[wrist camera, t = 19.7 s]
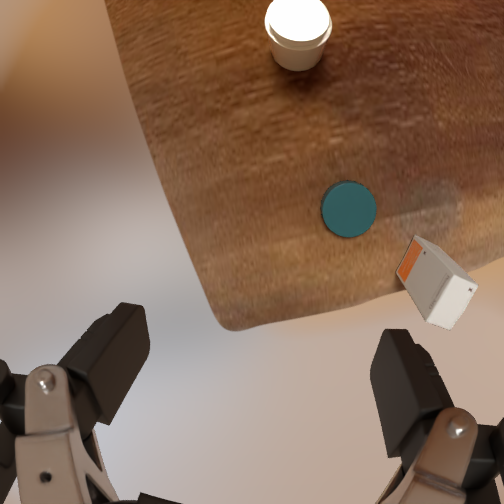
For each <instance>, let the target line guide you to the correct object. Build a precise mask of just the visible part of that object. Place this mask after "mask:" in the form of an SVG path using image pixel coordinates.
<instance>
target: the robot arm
mask: <svg viewBox="0 0 504 504" xmlns="http://www.w3.org/2000/svg"><path fill="white" fill-rule="evenodd" d="M149 351H150V339H149V333H148V327H147V322H146V315H145V310H144V308H143V306H141V305H136V304H130V303H124V302H121V303H120V304H119V305H118V306H117V307H116V308H115V309H114V310H113V312H112V313H111V314H106V315H104V316H102V317H101V318H99V319H97V320H96V321H94V323H93V324H92V325H91V326H90V327H89V328H88V329H87V332H85V333H84V334H83V335H82V336H81V339H79V340H78V341H77V342H76V343H75V344H74V345H73V346H72V347H71V349H70V350H69V351H68V352H67V353H66V355H65V356H64V357H63V358H62V359H61V360H60V362H59V363H58V364H57V365H53V364H47V365H42V366H39V367H37V368H35V369H34V370H33V371H31V373H30V374H29V375H21V374H13V373H11V371H10V369H9V367H8V366H7V364H6V362H5V361H3V360H1V359H0V420H1V421H2V422H1V424H0V504H3V503H4V501H5V499H6V497H7V495H8V492H9V491H10V489H11V487H12V485H13V482H14V481H15V479H16V477H17V479H18V487H19V494H20V501H21V504H181V503H177V502H173V501H169V500H165V499H162V498H158V497H154V496H151V495H148V494H144V493H140V495H139V497H138V500H137V501H136V500H121V501H120V500H119V498H118V496H117V494H116V492H115V490H114V488H113V486H112V484H111V483H110V480H109V478H108V476H107V472H106V469H105V466H104V463H103V459H102V456H101V452H100V449H99V445H98V441H97V438H96V433H95V430H94V429H93V428H94V426H95V424H96V422H100V423H103V424H106V425H110V424H111V422H112V420H113V418H114V416H115V414H116V413H117V411H118V409H119V407H120V405H121V404H122V402H123V400H124V398H125V396H126V394H127V393H128V391H129V389H130V387H131V386H132V384H133V382H134V380H135V379H136V377H137V375H138V373H139V372H140V370H141V368H142V366H143V365H144V363H145V361H146V359H147V357H148V355H149ZM434 365H435V364H434V362H433V360H432V358H431V356H430V354H429V353H428V352H427V351H426V350H425V349H424V348H423V347H422V346H421V345H420V344H415V343H414V341H413V339H412V337H411V336H410V333H409V332H408V330H406V329H385V330H384V331H383V333H382V336H381V339H380V342H379V345H378V348H377V351H376V353H375V356H374V359H373V361H372V365H371V369H370V380H371V385H372V388H373V392H374V397H375V401H376V405H377V409H378V413H379V417H380V421H381V426H382V431H383V436H384V440H385V445H386V450H387V455H388V458H392V457H400V456H401V460H402V463H401V465H400V466H399V467H398V469H397V471H396V472H395V474H394V476H393V477H392V479H391V480H390V482H389V484H388V485H387V487H386V488H385V490H384V491H383V493H382V494H381V496H380V497H379V499H378V500H377V502H376V503H375V504H501V502H500V499H499V495H498V490H497V486H496V483H495V478H496V477H497V476H498V475H499V474H500V475H501V478H502V482H503V485H504V418H503V419H502V420H501V421H500V422H499V424H498V425H497V426H490V425H481V424H477V423H476V420H475V418H474V417H473V416H472V415H471V414H470V413H469V412H467V411H466V410H464V409H461V408H457V407H455V406H454V404H453V402H452V400H451V397H450V395H449V393H448V391H447V389H446V387H445V385H444V382H443V380H442V378H441V376H440V375H439V372H438V370H437V368H436V367H435V366H434Z"/></svg>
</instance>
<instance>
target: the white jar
mask: <svg viewBox="0 0 504 504" xmlns="http://www.w3.org/2000/svg"><path fill="white" fill-rule="evenodd" d="M265 28H266V32H267V36H268V40H269V44H270V49H271V53H272V56H273V58H274V59H275V61H276V62H277V63H278V64H279V65H281V66H282V67H284V68H286V69H288V70H292V71H304V70H308V69H310V68H312V67H314V66H315V65H316V64H317V63H318V62H319V60H320V59H321V56H322V54H323V51H324V49H325V46H326V44H327V41H328V39H329V36H330V34H331V30H332V21H331V18H330V16H329V13H328V10H327V8H326V7H325V5H324V4H323V3H322V2H321V1H319V0H274V1H273V2H272V3H271V4H270V6H269V8H268V10H267V13H266V16H265Z"/></svg>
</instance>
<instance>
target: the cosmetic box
mask: <svg viewBox="0 0 504 504" xmlns="http://www.w3.org/2000/svg"><path fill="white" fill-rule="evenodd" d="M396 274H397V275H398V277H399V279H400V280H401V282H402V283H403V285H404V286H405V288H406V290H407V291H408V293H409V294H410V296H411V298H412V299H413V301H414V303H415V305H416V306H417V308H418V310H419V311H420V313H421V315H422V316H423V318H424V320H425V322H428V323H430V324H433V325H436V326H438V327H441V328H444V329H447V330H451V329H452V328H453V326H454V325H455V323H456V322H457V320H458V318H459V317H460V316H461V314H462V313H463V312H464V310H465V309H466V307H467V305H468V303H469V301H470V299H471V298H472V296H473V294H474V293H475V291H476V289H477V287H478V284H477V283H476V282H475V281H474V280H473V279H472V278H471V277H470V276H469V275H468V274H467V273H466V272H465V271H464V270H463V269H462V268H461V267H460V266H459V265H458V264H457V263H456V262H455V261H454V260H453V259H452V258H450V257H449V256H448V255H447V254H446V253H445V252H444V251H443V250H442V249H441V248H440V247H439V246H437V245H435V244H433V243H431V242H430V241H427V240H425V239H423V238H421V237H419V236H417V235H414V237H413V239H412V242H411V244H410V246H409V248H408V250H407V252H406V254H405V256H404V258H403V260H402V261H401V263H400V265H399V267H398V269H397V271H396Z"/></svg>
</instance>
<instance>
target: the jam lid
mask: <svg viewBox="0 0 504 504" xmlns="http://www.w3.org/2000/svg"><path fill="white" fill-rule="evenodd" d="M320 208H321V212H322V214H321V215H322V218H324V222H325V224H326V225H327V226H328V228H329V229H330V230H331V231H332V232H334V233H335V234H337V235H339V236H342V237H355V236H358V235H361V234H363V233H364V232H366V231H367V230H368V229H369V228H370V227H371V225H372V224H373V222H374V219H375V216H376V202H375V199H374V197H373V195H372V194H371V193H370V191H369V190H368V189H367V188H365V187H364V186H363V185H362V184H361V183H360V184H359V183H357V182H355V181H348V180H347V181H340V182H337V183H335V184H334V185H332V186H331V187H330V188H328V190H327V191H326V192H325V194H324V196H323V198H322V200H321V207H320Z"/></svg>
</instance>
